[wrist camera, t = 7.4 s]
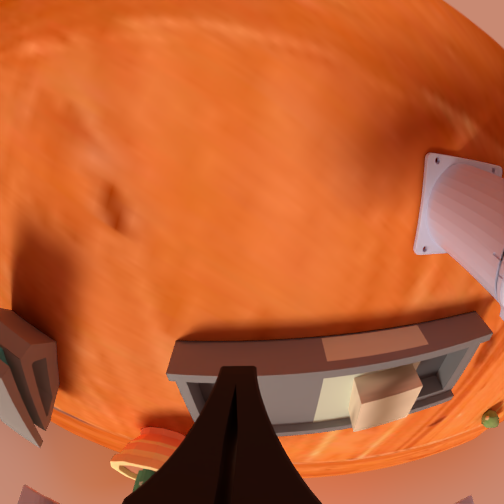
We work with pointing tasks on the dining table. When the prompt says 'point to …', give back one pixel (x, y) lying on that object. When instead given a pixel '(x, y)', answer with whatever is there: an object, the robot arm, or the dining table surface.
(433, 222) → the robot arm
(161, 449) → the potted cactus
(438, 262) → the dining table surface
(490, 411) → the edible corn
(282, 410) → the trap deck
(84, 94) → the dining table surface
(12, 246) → the dining table surface
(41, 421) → the gray angular rack
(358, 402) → the birch block
